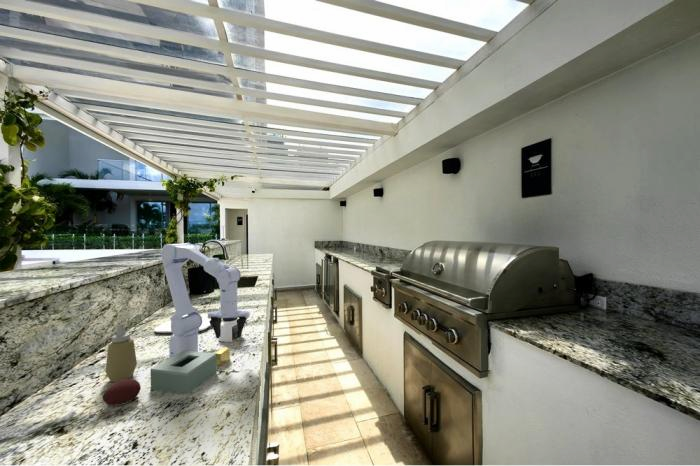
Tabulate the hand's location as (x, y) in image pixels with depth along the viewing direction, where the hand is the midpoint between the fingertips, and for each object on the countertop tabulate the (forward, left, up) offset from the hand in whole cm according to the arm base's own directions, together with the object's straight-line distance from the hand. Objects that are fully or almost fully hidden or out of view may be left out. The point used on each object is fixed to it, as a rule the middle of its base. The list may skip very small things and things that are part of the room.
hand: (229, 337), depth 101 cm
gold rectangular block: (-2, -1, -10) cm, 10 cm away
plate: (-44, +30, -10) cm, 55 cm away
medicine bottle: (-13, +19, -10) cm, 26 cm away
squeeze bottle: (-28, -17, -10) cm, 34 cm away
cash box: (-6, -14, -9) cm, 18 cm away
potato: (-15, -27, -10) cm, 32 cm away
